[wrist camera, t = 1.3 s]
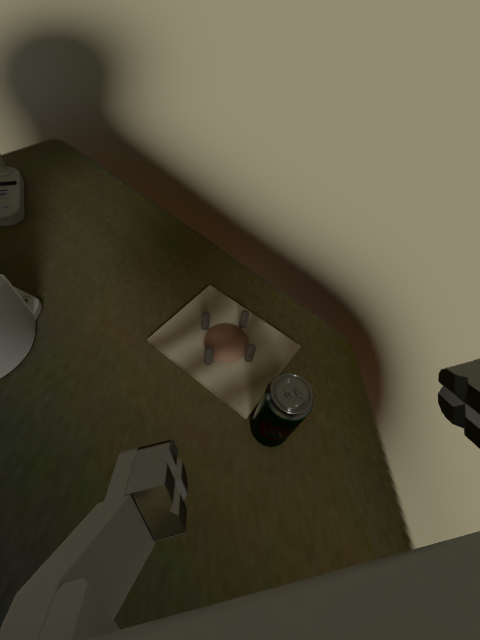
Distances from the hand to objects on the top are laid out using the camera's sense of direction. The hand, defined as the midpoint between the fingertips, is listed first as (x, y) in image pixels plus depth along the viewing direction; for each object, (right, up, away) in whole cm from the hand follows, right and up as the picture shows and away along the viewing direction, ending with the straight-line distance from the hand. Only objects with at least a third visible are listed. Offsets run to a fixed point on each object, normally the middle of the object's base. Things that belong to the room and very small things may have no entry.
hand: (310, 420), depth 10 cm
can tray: (-4, -1, +39) cm, 39 cm away
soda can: (+2, -11, +32) cm, 34 cm away
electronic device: (-46, +25, +51) cm, 74 cm away
